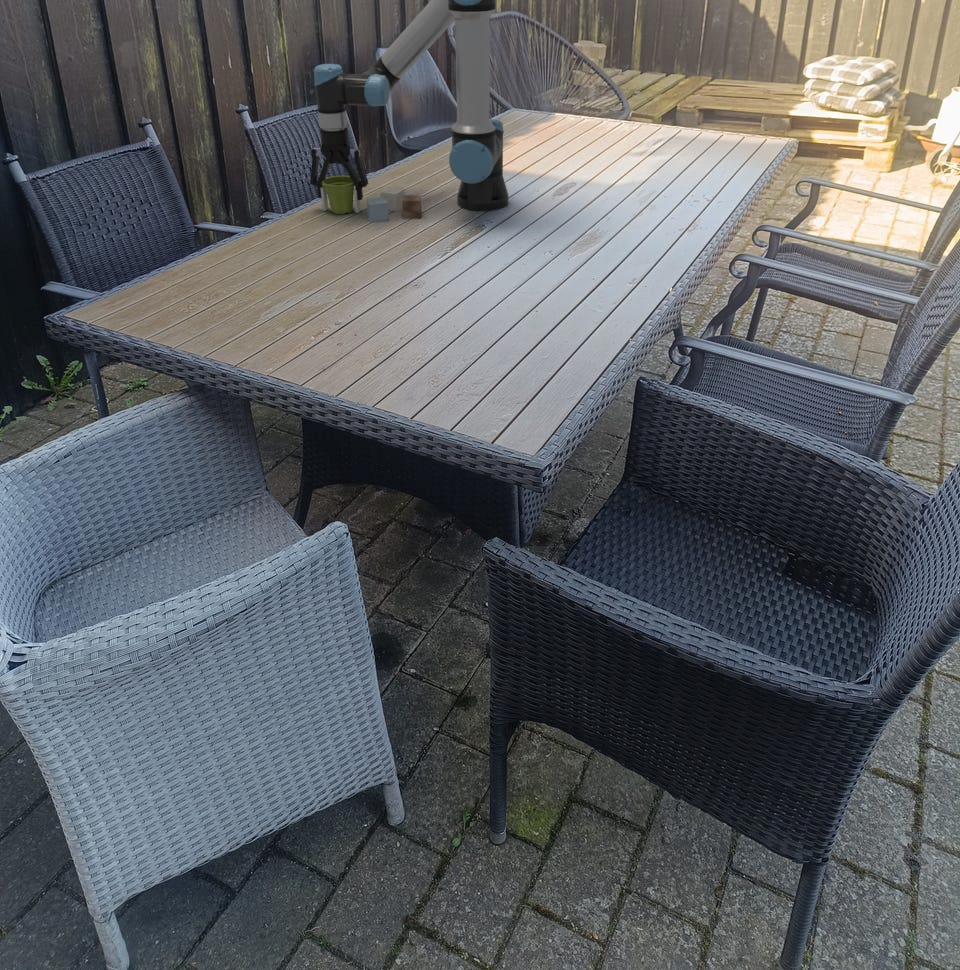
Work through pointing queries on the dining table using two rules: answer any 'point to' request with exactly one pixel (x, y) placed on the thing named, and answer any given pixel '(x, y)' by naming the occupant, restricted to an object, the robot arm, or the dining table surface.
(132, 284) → the dining table surface
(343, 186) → the plant pot
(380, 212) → the slate blue block
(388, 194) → the cream block
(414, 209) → the walnut block
